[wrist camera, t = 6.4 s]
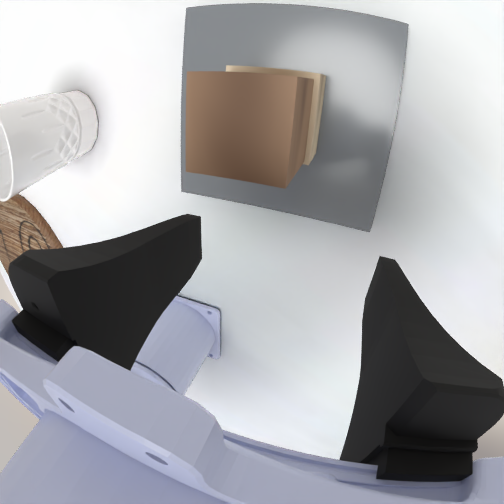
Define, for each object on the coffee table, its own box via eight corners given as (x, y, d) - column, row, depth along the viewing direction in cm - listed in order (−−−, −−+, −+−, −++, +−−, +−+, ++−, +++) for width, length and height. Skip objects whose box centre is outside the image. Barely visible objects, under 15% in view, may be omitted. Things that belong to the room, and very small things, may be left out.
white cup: (71, 171, 27) (-4, 212, 19) (46, 108, 24) (-31, 137, 16) (114, 141, 24) (23, 182, 16) (86, 69, 21) (-8, 88, 13)
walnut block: (225, 149, 17) (185, 171, 13) (229, 71, 14) (186, 71, 11) (304, 161, 16) (285, 189, 12) (314, 79, 13) (297, 76, 10)
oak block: (240, 140, 19) (221, 150, 17) (245, 67, 16) (226, 65, 14) (315, 153, 18) (308, 165, 16) (326, 75, 15) (320, 73, 13)
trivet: (22, 293, 50) (16, 299, 49) (-15, 183, 36) (-23, 187, 35) (102, 342, 45) (96, 349, 43) (61, 202, 31) (50, 209, 29)
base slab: (189, 186, 24) (181, 191, 23) (194, 10, 16) (186, 7, 15) (369, 224, 21) (369, 232, 20) (405, 27, 13) (408, 23, 12)
